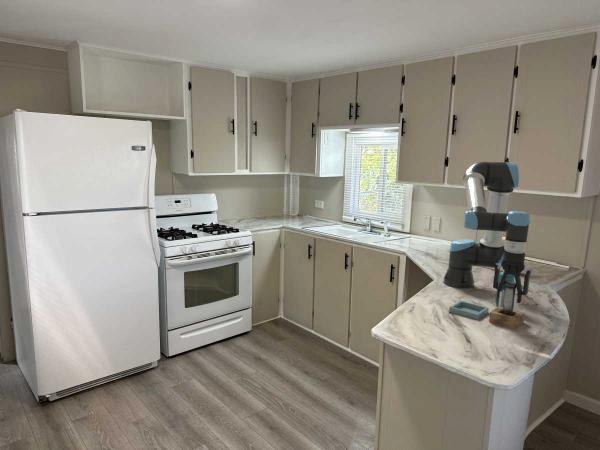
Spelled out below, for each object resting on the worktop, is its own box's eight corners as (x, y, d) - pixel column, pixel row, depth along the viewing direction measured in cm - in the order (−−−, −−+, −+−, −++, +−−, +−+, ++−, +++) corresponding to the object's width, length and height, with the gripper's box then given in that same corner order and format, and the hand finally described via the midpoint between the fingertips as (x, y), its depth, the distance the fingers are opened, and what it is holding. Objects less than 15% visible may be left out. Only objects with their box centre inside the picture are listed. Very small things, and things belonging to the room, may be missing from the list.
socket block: (488, 324, 170) (489, 312, 169) (497, 317, 177) (498, 306, 177) (515, 331, 163) (517, 319, 163) (523, 324, 171) (524, 312, 170)
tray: (448, 313, 180) (449, 307, 179) (460, 307, 189) (460, 300, 188) (477, 321, 172) (478, 314, 171) (487, 314, 181) (488, 307, 180)
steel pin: (497, 321, 170) (502, 282, 167) (501, 318, 174) (506, 280, 171) (510, 325, 167) (515, 285, 164) (514, 322, 170) (519, 283, 168)
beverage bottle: (497, 304, 194) (501, 261, 190) (512, 308, 189) (518, 264, 186) (492, 308, 188) (497, 264, 185) (509, 312, 184) (514, 267, 181)
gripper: (487, 248, 169) (481, 304, 172) (537, 257, 157) (529, 317, 161) (493, 246, 174) (487, 300, 178) (542, 254, 162) (535, 312, 166)
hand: (507, 308), depth 169 cm, fingers open, 5 cm apart
